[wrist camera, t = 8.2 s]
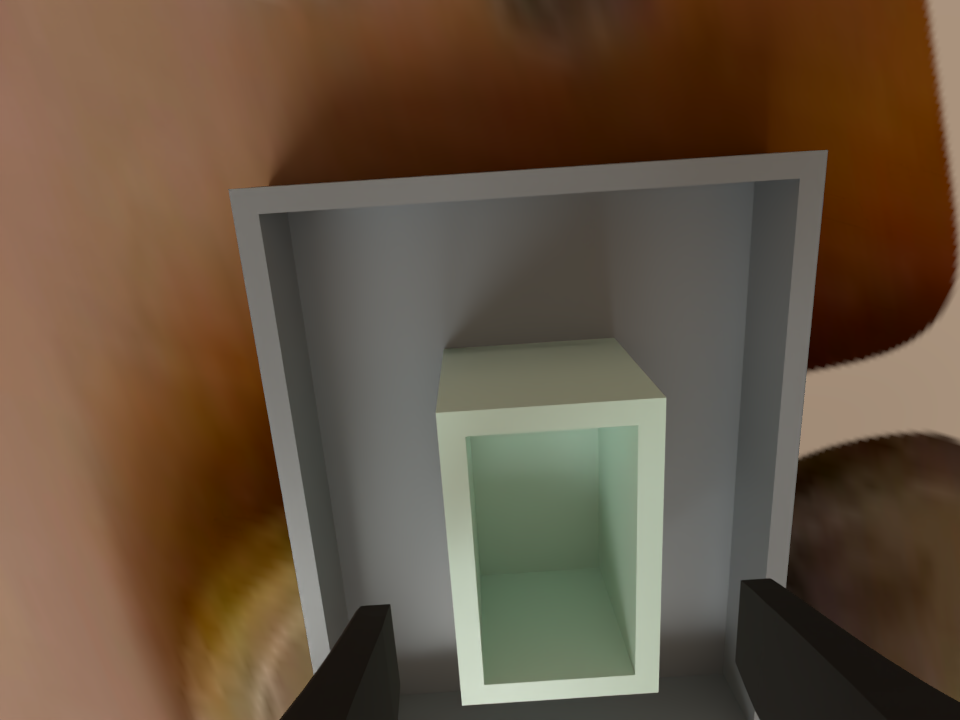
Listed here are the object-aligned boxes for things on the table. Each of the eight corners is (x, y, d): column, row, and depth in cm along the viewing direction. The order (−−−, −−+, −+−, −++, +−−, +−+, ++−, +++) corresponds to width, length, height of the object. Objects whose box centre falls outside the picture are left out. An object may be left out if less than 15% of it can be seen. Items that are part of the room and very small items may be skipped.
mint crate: (613, 570, 21) (658, 692, 16) (463, 581, 21) (461, 705, 16) (613, 337, 18) (666, 397, 13) (443, 349, 18) (435, 413, 13)
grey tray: (732, 672, 23) (770, 745, 20) (348, 698, 23) (331, 775, 20) (768, 153, 17) (828, 149, 14) (267, 186, 17) (228, 189, 14)
